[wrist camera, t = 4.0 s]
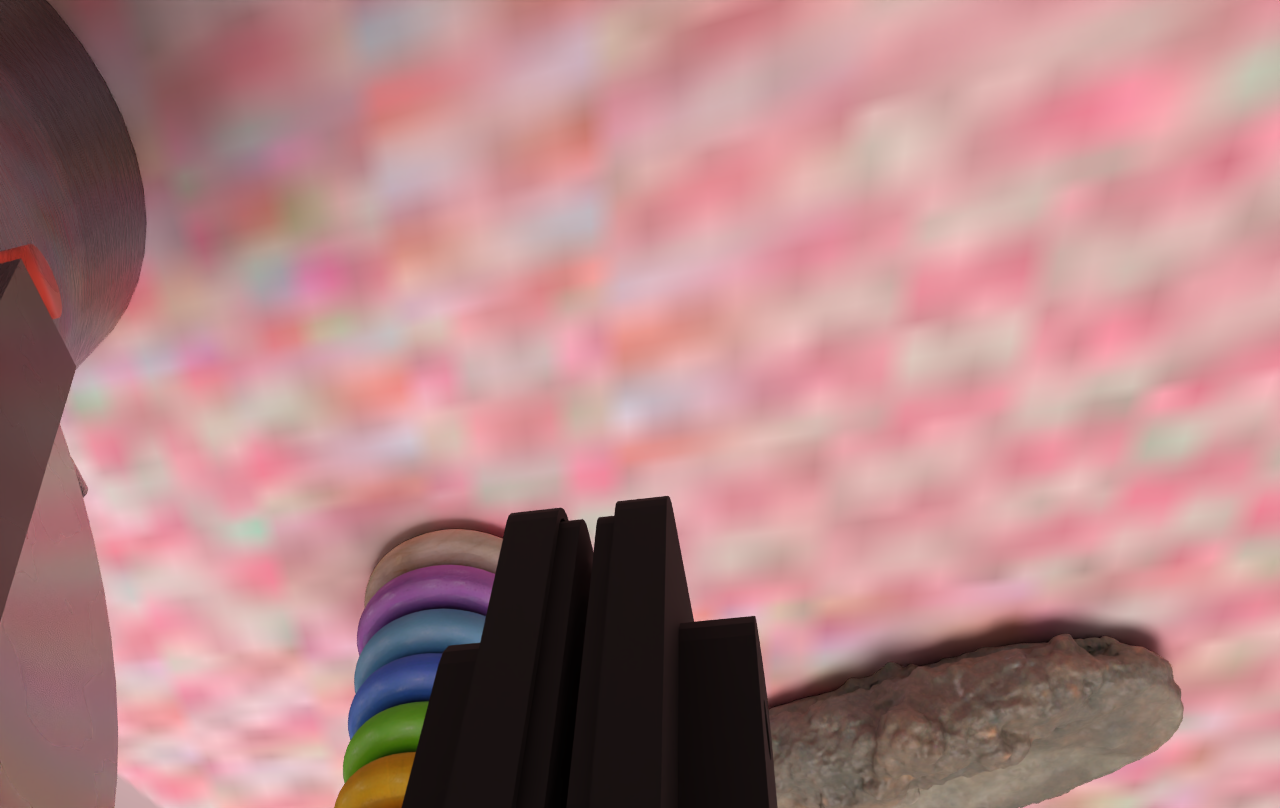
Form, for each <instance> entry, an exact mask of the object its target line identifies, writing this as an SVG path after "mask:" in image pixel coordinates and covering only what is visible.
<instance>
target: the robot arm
mask: <svg viewBox="0 0 1280 808" xmlns="http://www.w3.org/2000/svg"><path fill="white" fill-rule="evenodd" d="M401 808H778V806H777V795H776V783H775V772H774V761H773V749H772V739H771V729H770V719H769V710H768V701H767V693H766V685H765V677H764V670H763V662H762V656H761V649H760V642H759V635H758V629H757V622H756V617H755V616H750V617H739V618H729V619H719V620H708V621H698V622H694V619H693V614H692V609H691V603H690V598H689V593H688V587H687V582H686V577H685V571H684V566H683V561H682V555H681V550H680V545H679V539H678V534H677V529H676V523H675V518H674V513H673V508H672V503H671V500H670V497H669V496H663V497H654V498H645V499H636V500H627V501H618V502H617V503H616V507H615V515H614V516H608V517H599V518H598V520H597V525H596V535H595V544H594V553H593V548H592V544H591V540H590V536H589V532H588V528H587V525H586V523H585V521H584V520H583V519H581V520H572V521H568V517H567V514H566V512H565V511H564V509H562V508H554V509H545V510H536V511H527V512H518V513H511V514H510V515H509V517H508V520H507V523H506V527H505V532H504V536H503V541H502V545H501V550H500V555H499V559H498V564H497V568H496V573H495V577H494V582H493V586H492V591H491V596H490V600H489V605H488V609H487V614H486V618H485V623H484V627H483V632H482V636H481V641H480V643H470V644H460V645H450V646H448V647H447V648H446V649H445V650H444V652H443V654H442V656H441V659H440V662H439V664H438V668H437V672H436V676H435V680H434V684H433V688H432V691H431V695H430V699H429V703H428V707H427V711H426V715H425V719H424V722H423V726H422V730H421V734H420V738H419V742H418V746H417V749H416V753H415V757H414V761H413V765H412V769H411V773H410V777H409V780H408V784H407V788H406V792H405V796H404V800H403V804H402V807H401Z"/></svg>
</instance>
